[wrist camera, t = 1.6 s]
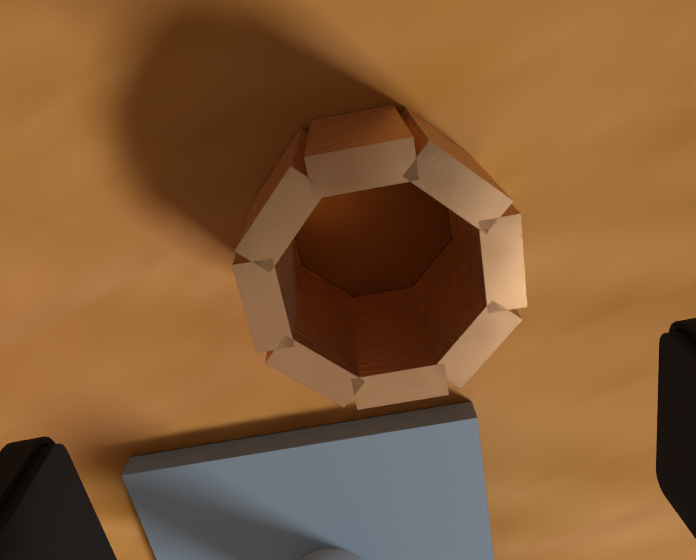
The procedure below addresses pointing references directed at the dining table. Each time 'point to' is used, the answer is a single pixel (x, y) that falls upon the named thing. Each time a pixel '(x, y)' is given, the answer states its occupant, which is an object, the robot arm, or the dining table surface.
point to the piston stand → (322, 493)
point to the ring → (389, 306)
